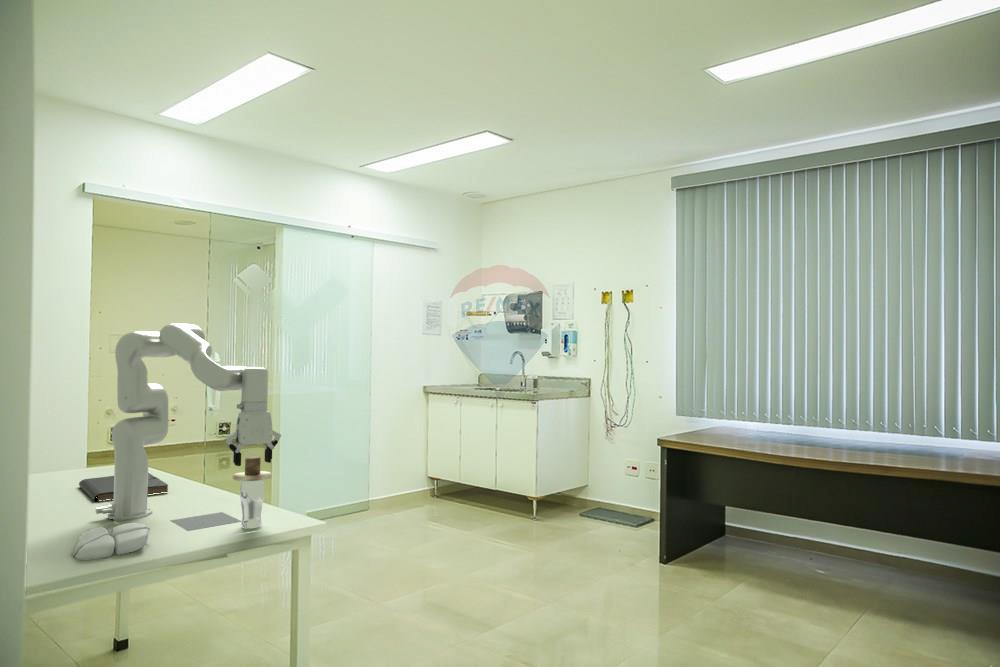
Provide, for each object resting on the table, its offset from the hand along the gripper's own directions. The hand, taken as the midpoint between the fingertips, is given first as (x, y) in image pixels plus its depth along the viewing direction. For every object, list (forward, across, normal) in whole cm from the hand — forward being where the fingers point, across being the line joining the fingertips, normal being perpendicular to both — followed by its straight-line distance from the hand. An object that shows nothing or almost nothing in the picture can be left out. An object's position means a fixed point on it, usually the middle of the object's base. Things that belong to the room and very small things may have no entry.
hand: (252, 463), depth 195 cm
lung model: (+20, -36, +8) cm, 42 cm away
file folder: (+20, -14, +84) cm, 87 cm away
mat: (+19, -8, +15) cm, 26 cm away
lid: (+4, 0, 0) cm, 4 cm away
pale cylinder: (+19, 0, 0) cm, 19 cm away
